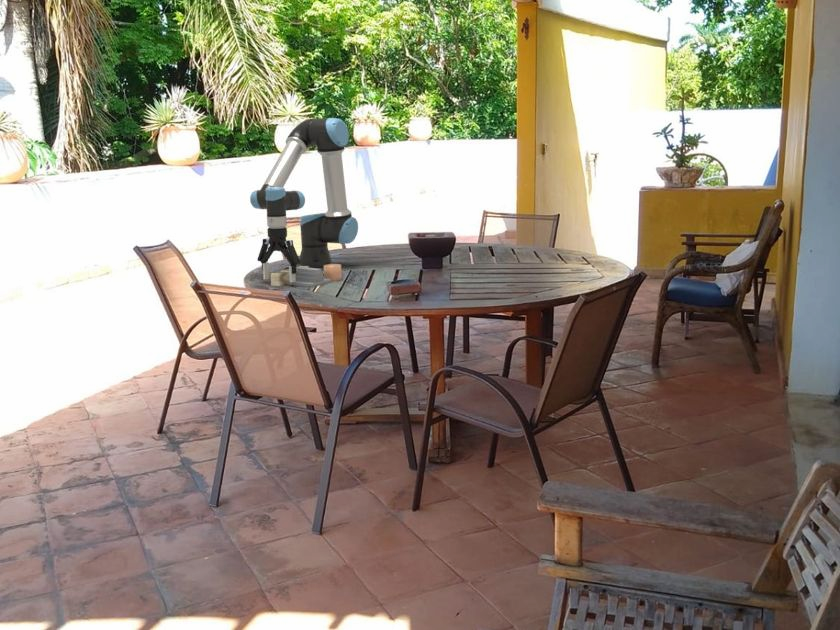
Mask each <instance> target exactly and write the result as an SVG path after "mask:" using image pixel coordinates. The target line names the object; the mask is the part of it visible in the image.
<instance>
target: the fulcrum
mask: <svg viewBox="0 0 840 630" xmlns="http://www.w3.org/2000/svg"><path fill="white" fill-rule="evenodd" d="M331 282H332V281H331V279H324V274H323V271H322V268H317V267H314V268H306V267H300V268H297V272H296V282H290V281H289V282H288V284H287V285H288V286H296V287H305V288H315V287H317V286H322V285H326V284H329V283H331Z"/></svg>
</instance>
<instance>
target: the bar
mask: <svg viewBox="0 0 840 630" xmlns="http://www.w3.org/2000/svg"><path fill="white" fill-rule="evenodd" d="M300 267H306V268H309V266H299V265H298V266H296V271H297V268H300ZM295 275H296V274H295ZM289 281H290V277H289V268H287V269H283V270H279V271H276V272H272V273H270V285H271V287H272V286H275V287H282V286H286V285H288V282H289Z"/></svg>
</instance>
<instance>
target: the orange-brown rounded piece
mask: <svg viewBox="0 0 840 630" xmlns="http://www.w3.org/2000/svg"><path fill="white" fill-rule="evenodd" d="M323 276H324V279H331V282H340V281H341V280H343V279H342V278H343V277H342V264H341V263H340V264H339V263H332V264H326V265H324V267H323Z"/></svg>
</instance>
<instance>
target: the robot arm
mask: <svg viewBox="0 0 840 630" xmlns="http://www.w3.org/2000/svg"><path fill="white" fill-rule="evenodd" d="M349 138H350V133H349V128H348V126H347V125H346V123H345V122H344V120H342V119H341V118H335V117H326V118H325V117H324V118H323V117H322V118H321V117H320V118H308V119H305V120H303V121H302V122H300V123H298V124H297V125H296V126H295V127H294V128H293V129H292V130H291V132H290V133H289V135H288V136H287V138H286V140H285V146H284V148H283V149H282V151H281V153H280V155H279V157H278V158H277V160H276V161H275V164H274V165H273V167H272V169H271V170H270V172H269V174H268V175H267V177H266V179H265V180H264V183H263V185H262V186H261V188H260V190H259V189H257V190H254V191H252V192H251V194H250V197H249V198H250V199H249V202H250V204H251V206H252V207H253V208H254V209H256V210H257V209H258V210H266V221H267V222H266V225H267V238H263V239H262V245H261V246H260V247H261V248H260V250H259V253H258V256H257V262H260V263H261V270H262V274H263V280H271V276H270V262H269V260H270V258H271V256H272V255H273V253H274V252H276V251H277V252H281V253H282V254H283V256H284V257H285V258H286V260H287V262H288V264H289V266H288V269H289V277H290V282H296V275H295V274H296V272H297V271H296V267H297V265H298V266H309V268H324V265H326V264H333V259H332V257H331V253H330V251H329V248H328V247H329V245H328V244H340V245H344V244H346V245H347V244H348V245H349V244H351V243H352V242H354V240H355V239H356V238H357V235H358V233H359V222H358V220H357V218H355V217H354V216H353V215H352V211H351V210H350V209H349V208H348V202H347V201H348V200H347V194H346V193H347V192H346V184H345V183H346V182H345V176H344V175H345V172H344V163H343V152H344V151H345V147H346V145H347V144H348V143H349ZM311 147H316V149H317V153H318V154H319V155H320V156H321V162H322V164H321V165H322V170H323V171H322V172H323V180H324V187H325V197H326V206H327V211H326V212H322V213H321V212H319V213H312V214H307V215H303V216H301V217H300V225H299V227H300V239H301V251H300V254H299V255H298V253H297V250H296V248H295V246H294V241H293V239H288V240H287V237H288V229H287V226H288V224H287V223H288V222H287V211H297V210H300V209H302V208H303V207H304V206H305V203H306V198H305V194H304V193H303V192H302V191H299V190H286V188H285V185H286V184H287V182H288V180H289V178H290V176H291V174H292V173H293V171H294V168H295V167H296V165H297V163H298V162H299V160H300V158H301V156H302V155H303V154H305V153H306V152H307V151H308V149H309V148H311Z"/></svg>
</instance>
